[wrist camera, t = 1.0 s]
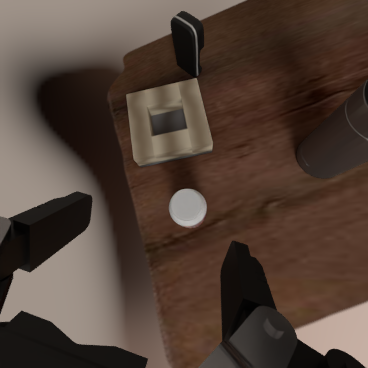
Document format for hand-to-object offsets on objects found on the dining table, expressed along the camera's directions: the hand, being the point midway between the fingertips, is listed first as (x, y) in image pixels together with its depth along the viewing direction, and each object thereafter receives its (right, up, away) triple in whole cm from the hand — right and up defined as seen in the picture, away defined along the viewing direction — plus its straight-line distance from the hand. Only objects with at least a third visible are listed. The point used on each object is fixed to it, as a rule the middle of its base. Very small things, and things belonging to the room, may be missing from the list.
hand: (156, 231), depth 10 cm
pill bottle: (+3, -3, +28) cm, 28 cm away
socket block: (-2, +15, +33) cm, 37 cm away
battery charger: (+3, +32, +38) cm, 50 cm away
